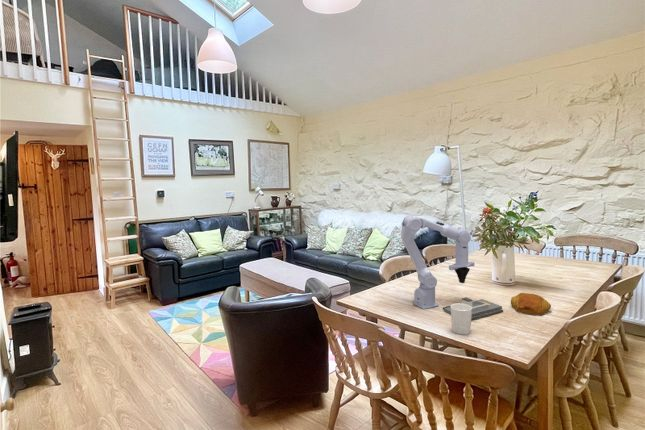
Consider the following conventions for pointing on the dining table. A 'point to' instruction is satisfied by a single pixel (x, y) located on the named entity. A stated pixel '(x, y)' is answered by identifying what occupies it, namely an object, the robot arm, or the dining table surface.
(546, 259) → the dining table surface
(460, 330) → the white cup
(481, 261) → the dining table surface
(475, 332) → the dining table surface
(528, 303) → the croissant
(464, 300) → the grey and beige block
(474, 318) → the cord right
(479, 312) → the breaker panel
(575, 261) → the dining table surface
